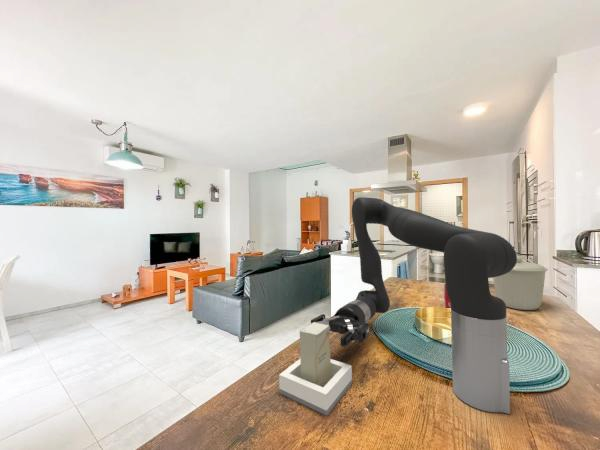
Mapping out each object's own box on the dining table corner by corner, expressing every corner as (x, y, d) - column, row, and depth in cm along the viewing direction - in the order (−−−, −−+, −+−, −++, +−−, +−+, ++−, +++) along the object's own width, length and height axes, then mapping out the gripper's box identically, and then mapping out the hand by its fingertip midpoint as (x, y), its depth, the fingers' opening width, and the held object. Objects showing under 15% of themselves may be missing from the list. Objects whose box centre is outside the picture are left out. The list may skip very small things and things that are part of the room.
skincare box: (318, 395, 51) (316, 335, 51) (300, 387, 54) (298, 331, 54) (331, 378, 56) (330, 324, 56) (314, 372, 59) (313, 321, 59)
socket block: (352, 383, 56) (351, 365, 56) (326, 416, 47) (326, 394, 47) (309, 367, 63) (308, 351, 63) (279, 393, 54) (279, 374, 54)
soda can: (469, 313, 97) (468, 282, 97) (451, 314, 97) (450, 283, 97) (458, 307, 104) (457, 278, 104) (441, 308, 104) (440, 279, 104)
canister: (486, 306, 104) (484, 256, 104) (495, 297, 116) (493, 252, 116) (547, 317, 91) (545, 259, 91) (550, 305, 103) (548, 254, 103)
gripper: (330, 299, 76) (299, 316, 62) (377, 307, 67) (353, 328, 54) (331, 324, 76) (300, 346, 62) (378, 335, 67) (354, 363, 54)
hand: (325, 338), depth 58 cm, fingers open, 8 cm apart
